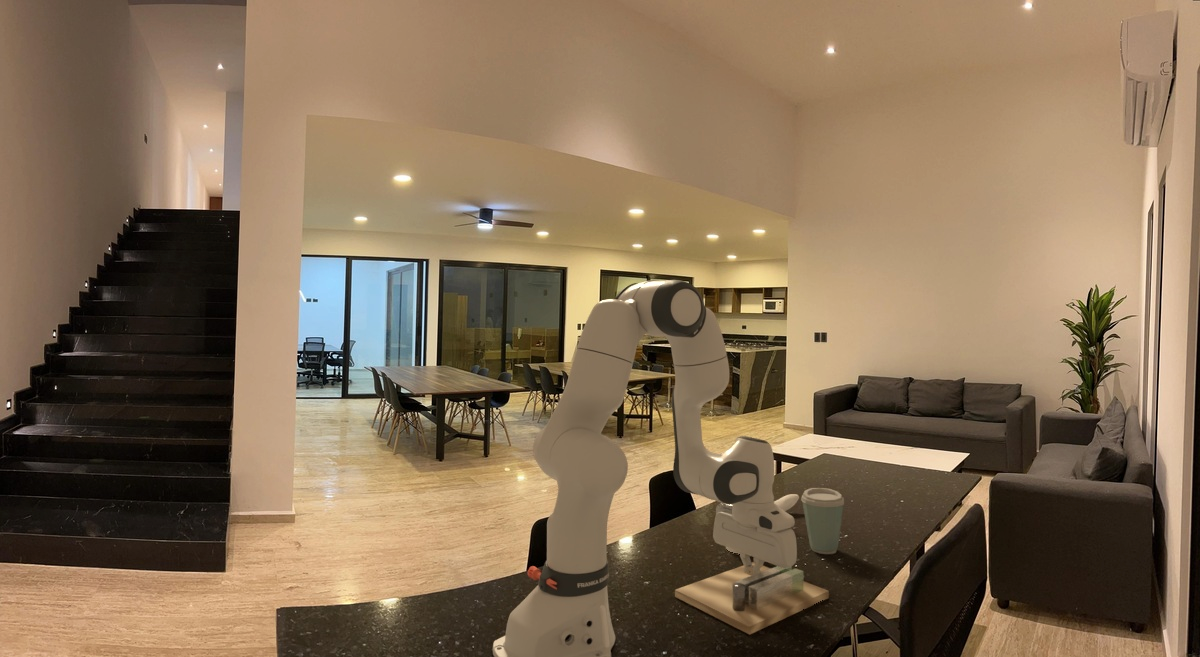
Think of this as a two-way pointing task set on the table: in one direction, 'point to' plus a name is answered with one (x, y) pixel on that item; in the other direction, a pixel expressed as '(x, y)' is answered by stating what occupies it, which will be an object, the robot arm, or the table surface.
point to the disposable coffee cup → (823, 518)
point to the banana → (787, 501)
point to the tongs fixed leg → (775, 588)
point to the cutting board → (718, 603)
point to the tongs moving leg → (743, 585)
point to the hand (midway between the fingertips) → (752, 574)
